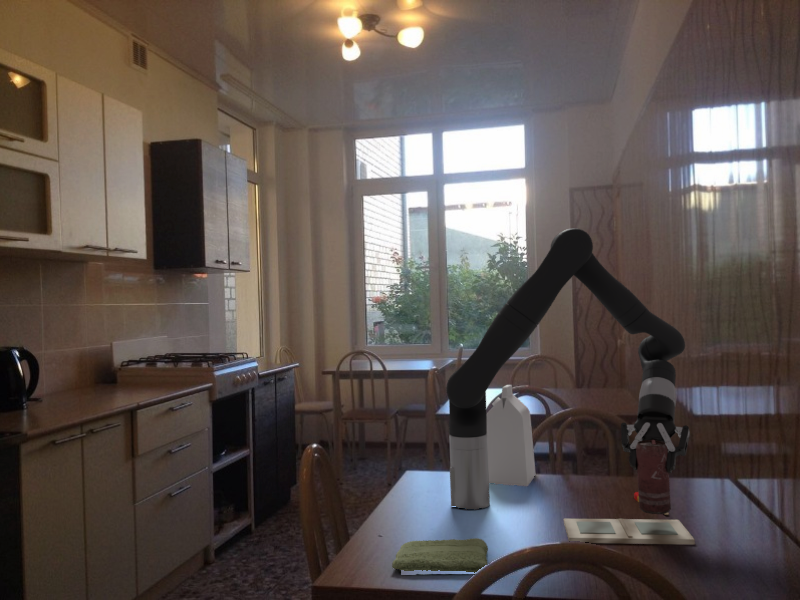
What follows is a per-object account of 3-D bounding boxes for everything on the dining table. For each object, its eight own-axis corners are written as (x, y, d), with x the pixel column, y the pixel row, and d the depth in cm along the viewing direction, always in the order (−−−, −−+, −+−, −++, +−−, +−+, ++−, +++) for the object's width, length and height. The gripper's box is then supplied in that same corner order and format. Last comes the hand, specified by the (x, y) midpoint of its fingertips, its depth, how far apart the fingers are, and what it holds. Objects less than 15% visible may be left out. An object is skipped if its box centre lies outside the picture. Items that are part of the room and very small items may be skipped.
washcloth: (399, 551, 131) (399, 535, 131) (488, 552, 129) (487, 536, 129) (391, 578, 118) (390, 560, 118) (489, 579, 116) (488, 561, 116)
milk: (527, 486, 174) (523, 388, 174) (485, 483, 178) (481, 388, 178) (535, 475, 185) (531, 383, 185) (495, 472, 189) (492, 383, 190)
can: (669, 506, 137) (666, 439, 137) (671, 515, 131) (667, 445, 131) (639, 504, 139) (635, 438, 139) (639, 513, 133) (635, 445, 133)
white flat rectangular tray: (569, 542, 131) (568, 536, 131) (563, 523, 143) (563, 517, 143) (694, 544, 128) (694, 537, 128) (678, 524, 139) (678, 518, 140)
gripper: (620, 391, 145) (612, 456, 135) (690, 393, 138) (687, 462, 128) (625, 411, 150) (618, 476, 139) (694, 414, 143) (691, 482, 132)
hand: (651, 469), depth 133 cm, fingers closed on can, 6 cm apart
